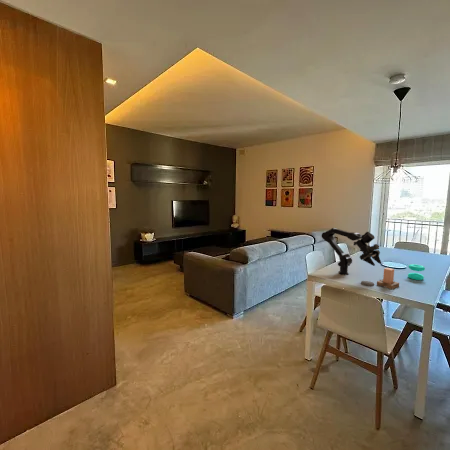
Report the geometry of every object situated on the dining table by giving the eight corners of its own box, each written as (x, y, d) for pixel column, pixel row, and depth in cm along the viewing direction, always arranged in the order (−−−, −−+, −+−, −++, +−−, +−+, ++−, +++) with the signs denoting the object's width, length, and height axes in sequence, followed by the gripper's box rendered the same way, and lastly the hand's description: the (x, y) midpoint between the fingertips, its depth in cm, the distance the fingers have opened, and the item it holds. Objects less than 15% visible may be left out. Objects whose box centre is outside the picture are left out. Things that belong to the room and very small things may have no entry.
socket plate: (376, 284, 182) (377, 281, 182) (383, 282, 188) (384, 278, 188) (392, 289, 174) (392, 285, 174) (399, 286, 180) (399, 282, 179)
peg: (382, 285, 182) (384, 268, 180) (385, 284, 184) (387, 267, 183) (389, 287, 178) (391, 270, 176) (392, 286, 180) (394, 269, 179)
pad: (359, 281, 189) (359, 280, 189) (372, 282, 187) (372, 281, 187) (362, 285, 181) (362, 284, 181) (375, 286, 179) (375, 285, 179)
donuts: (424, 268, 189) (408, 265, 195) (423, 281, 190) (406, 278, 197) (425, 265, 197) (409, 263, 203) (424, 278, 198) (408, 275, 204)
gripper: (365, 241, 183) (380, 260, 175) (378, 239, 193) (393, 256, 185) (353, 250, 190) (367, 268, 183) (366, 247, 201) (380, 264, 193)
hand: (377, 264), depth 186 cm, fingers open, 9 cm apart
